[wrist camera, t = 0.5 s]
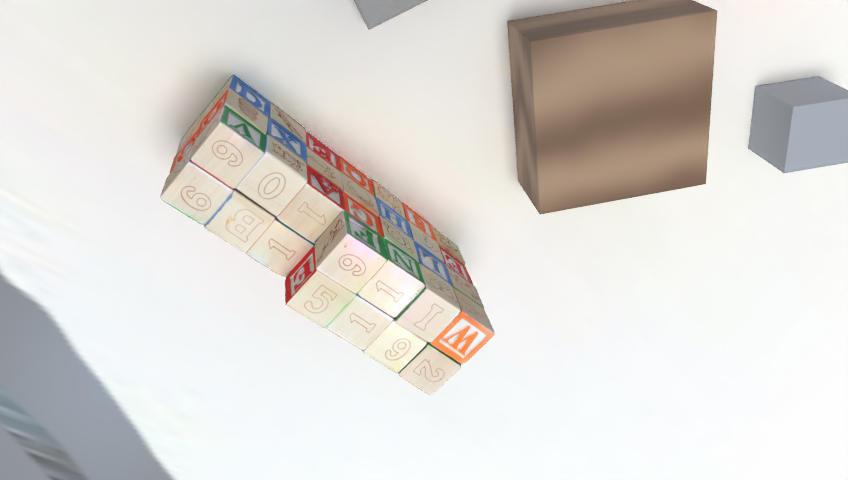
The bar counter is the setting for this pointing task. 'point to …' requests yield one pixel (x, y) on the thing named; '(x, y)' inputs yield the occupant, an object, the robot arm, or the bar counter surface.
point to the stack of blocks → (329, 237)
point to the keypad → (383, 9)
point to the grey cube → (800, 124)
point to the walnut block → (612, 101)
